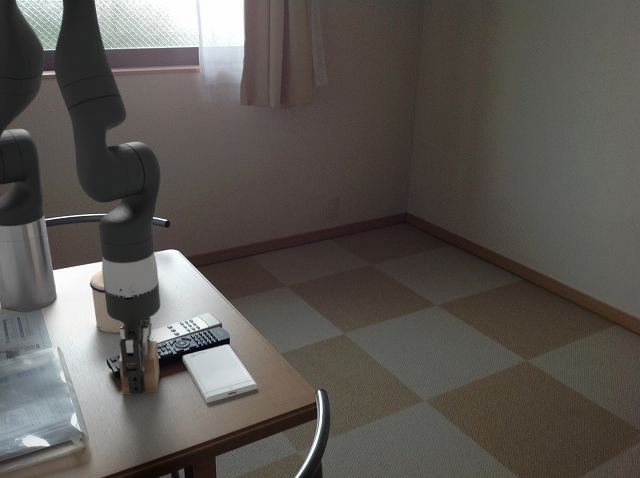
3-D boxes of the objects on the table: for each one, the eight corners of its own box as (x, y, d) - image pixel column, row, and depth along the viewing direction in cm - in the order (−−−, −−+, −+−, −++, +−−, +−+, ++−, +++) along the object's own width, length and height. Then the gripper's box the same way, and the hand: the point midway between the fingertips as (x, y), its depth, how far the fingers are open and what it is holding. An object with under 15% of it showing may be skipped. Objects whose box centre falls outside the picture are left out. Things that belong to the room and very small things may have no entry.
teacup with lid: (150, 329, 106) (145, 271, 102) (97, 338, 103) (89, 279, 99) (141, 299, 117) (135, 245, 112) (92, 307, 113) (85, 252, 109)
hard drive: (182, 355, 97) (206, 397, 87) (229, 343, 101) (257, 382, 91) (182, 363, 98) (206, 406, 88) (229, 351, 102) (257, 391, 92)
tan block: (122, 394, 89) (118, 361, 87) (127, 375, 94) (123, 342, 91) (156, 392, 90) (153, 358, 88) (159, 372, 94) (156, 340, 92)
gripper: (111, 262, 91) (122, 352, 97) (95, 306, 78) (108, 406, 84) (161, 260, 92) (168, 348, 98) (153, 303, 79) (162, 402, 85)
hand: (140, 375), depth 91 cm, fingers open, 8 cm apart
